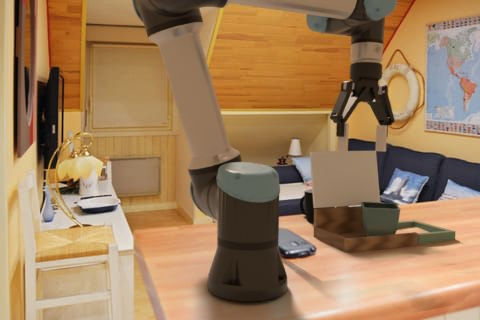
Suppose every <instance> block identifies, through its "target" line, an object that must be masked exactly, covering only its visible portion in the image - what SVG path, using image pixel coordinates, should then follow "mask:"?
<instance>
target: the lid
mask: <svg viewBox="0 0 480 320" xmlns="http://www.w3.org/2000/svg"><path fill="white" fill-rule="evenodd" d="M377 157H378V156H377V151H375V150H348V151H337V150H332V151H331V150H329V151H328V150H326V151H322V150H321V151H318V150H317V151H313V150H312V151H309V159H310V160H309V161H310V175H311V189H312V192H313V207H314V208H324V207H335V208H336V207H340V206H349V207H352V206H361V202H376V203H381V195H380V193H381V192H380V184H379V171H378V168H379V167H378V158H377Z"/></svg>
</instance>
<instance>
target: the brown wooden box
mask: <svg viewBox="0 0 480 320" xmlns="http://www.w3.org/2000/svg"><path fill="white" fill-rule="evenodd" d="M364 232H365V229H364V225H363V220H362V207H361V205H356V206H349V207H335V208H320V209H314V223H313V238H315V239H316V240H318V241H320V242H322V243H325V244H326V245H328V246H331V247H332V248H336V249H338V250H339V251H342V252H345V253H347V254H348V253H355V252H357V253H358V252H366V251H377V250H385V249H395V248H405V247H407V248H408V247H415V246H419V245H418V233H419V232H415V231H414V232H403V233H401V232H400V233H395V234H390V235H379V236H368V237H367V236H360V237H349V238H348V237H346V236H344V235H350V234H355V233H356V234H357V233H364Z"/></svg>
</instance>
